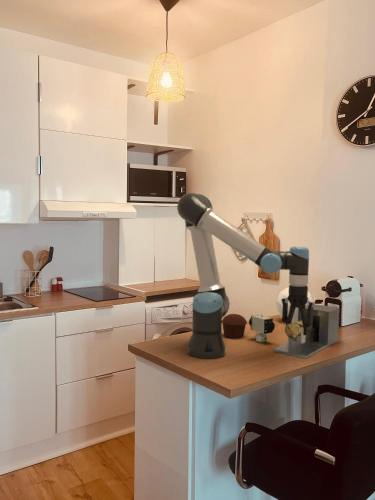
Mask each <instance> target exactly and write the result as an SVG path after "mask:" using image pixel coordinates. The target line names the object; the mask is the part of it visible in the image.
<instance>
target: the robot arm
mask: <svg viewBox="0 0 375 500" xmlns="http://www.w3.org/2000/svg"><path fill="white" fill-rule="evenodd" d="M176 209H177V213H178V215H179V217H180V218H181V219H182V220H184V223H185V227H186V228H185V229H187V230H188V231H190V235H191V236H190V237H191V240H192V241H191V242H192V246H193V247H192V248H193V251H194V256H195V263H196V264H195V265H196V269H197V275H198V281H199V288H198V290H197V294H195V295H194V296H193V298H192V327H191V328H192V333H191V335H190V339H189V342H188V345H187V354H188V353H189V354H190V356H191V355H192V357H196V358H199V359H217V358H222V357H223V356H225V355H226V351H227V350H226V345H225V342H224V338H223V335H222V334H223V333H222V332H223V331H222V330H223V324H222V320H223V318H224V317H225V316H227V313H228V311H229V309H230V304H231V303H230V299H229V296H228V295H227V292H226V287H225V285H224V284H222V283H221V280H220V279H221V278H220V275H219V269H218V264H217V258H216V253H215V252H216V250H215V246H214V240H213V237H212V236H214V237H216V239H218V240H219V241H221V242H222V243H224V244H226V245H227V246H229V247H230V248H231V249H233V250H234V251H236V252H238V253H239V254H240V255H242V256H244V257H245V258H246V259H248V260H250V261H251V262H252V263H254V264H255V265H257V266H258V267H259V268H260V269H261V270H262V271H263V272H264V273H266V274H268V275H272V274H276V273H278V272H280V270H285V271H288V272H289V274H288V277H289V278H288V284H289V285H288V287H289V296H288V298H283V299H282V304H283V310H282V316H281V318H282V319H281V322H282V323H284V324H286V325H287V324H290V323H292V318H293V315H294V311H295V309H296V307H297V308H299V311H300V313H301V319H302V324H303V326H302V327H301V343H304V342H305V335H307V334H308V327H310V326H312V325H313V307H314V304H316V303H315V301H313V302H311V301H309V300H308V297H307V295H308V292H309V286H308V284H309V270H310V269H309V267H310V265H309V264H310V252H309V250H310V249H309V248H308V247H306V246H291V247H290V248H289V251H288V250H287V251H286V250H285V251H283V250H282V251H280V250H271V249H269V247H268V248H267V247H266V246H264V245H263V244H262V243H260V242H258V241H257V240H255V239H254V238H253V237H251V236H250V235H248V234H247V233H246V232H244V231H243V230H241V229H239V228H237V227H236V226H235V225H233V224H232V223H231V222H229V221H227V220H226V219H225V218H223V217H221V216H220V215H219V214H217V213H215V212H214V211H213V204H212V201H210V199H209V198H208V197H207V196H205V195H203V194H200V193H195V192H189V193H185V194H183V196H181V197H180V198H179V200H178V202H177V208H176ZM288 300H289V302H290V304H291V305H290V310H289V314H288ZM306 303H307V304H308V318H307V316H306V311H305V309H306V308H305V305H306ZM289 338H290V337H288V336H287V341H288V342H289ZM189 354H188V355H189Z"/></svg>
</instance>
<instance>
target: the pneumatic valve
mask: <svg viewBox="0 0 375 500" xmlns="http://www.w3.org/2000/svg"><path fill="white" fill-rule="evenodd" d="M248 325H249V326H250V330H251V331H253V332H254V331H255V332H256V333H255V341H256V342H258V343H261V344H262V343H266V342H267V341H268V337H267V336H268V335H267V334H271V333H273V332H274V331H275V328H276V325H275V323H274V318H272V317H269V316H265V315H264V314H263V313H262V314H255V315H251V316H250V318H249V320H248Z"/></svg>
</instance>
